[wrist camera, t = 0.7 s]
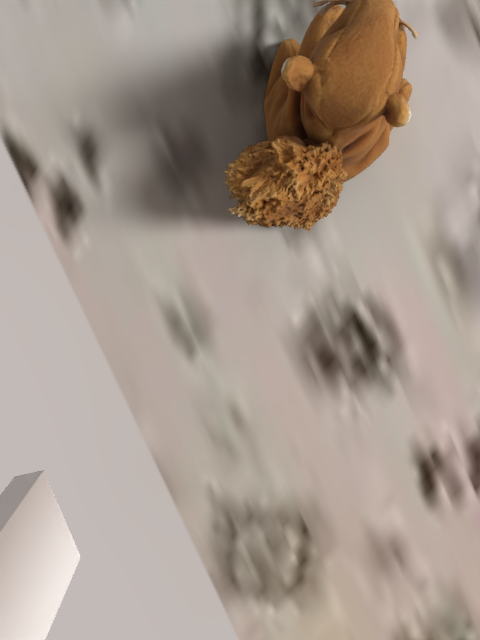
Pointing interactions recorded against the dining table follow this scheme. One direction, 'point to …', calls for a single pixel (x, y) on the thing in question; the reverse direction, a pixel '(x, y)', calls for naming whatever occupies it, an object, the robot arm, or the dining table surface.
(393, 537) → the dining table surface
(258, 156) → the stuffed squirrel
